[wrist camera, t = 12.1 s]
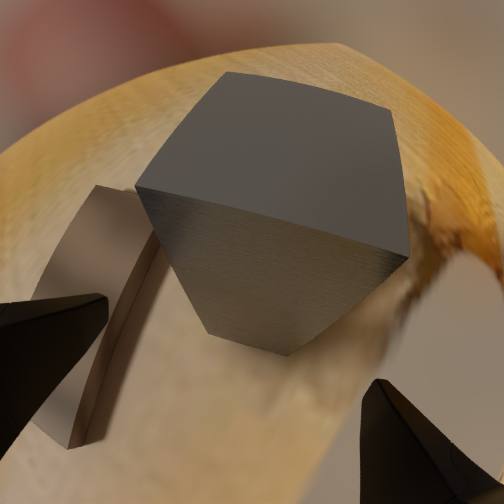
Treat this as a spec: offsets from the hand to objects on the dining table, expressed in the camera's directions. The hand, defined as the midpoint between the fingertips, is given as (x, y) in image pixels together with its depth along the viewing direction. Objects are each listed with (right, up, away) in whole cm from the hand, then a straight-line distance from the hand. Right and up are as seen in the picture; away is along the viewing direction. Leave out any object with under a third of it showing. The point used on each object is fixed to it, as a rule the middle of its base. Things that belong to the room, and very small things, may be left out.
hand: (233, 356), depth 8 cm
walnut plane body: (-11, -1, +8) cm, 14 cm away
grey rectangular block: (+1, 0, +9) cm, 9 cm away
